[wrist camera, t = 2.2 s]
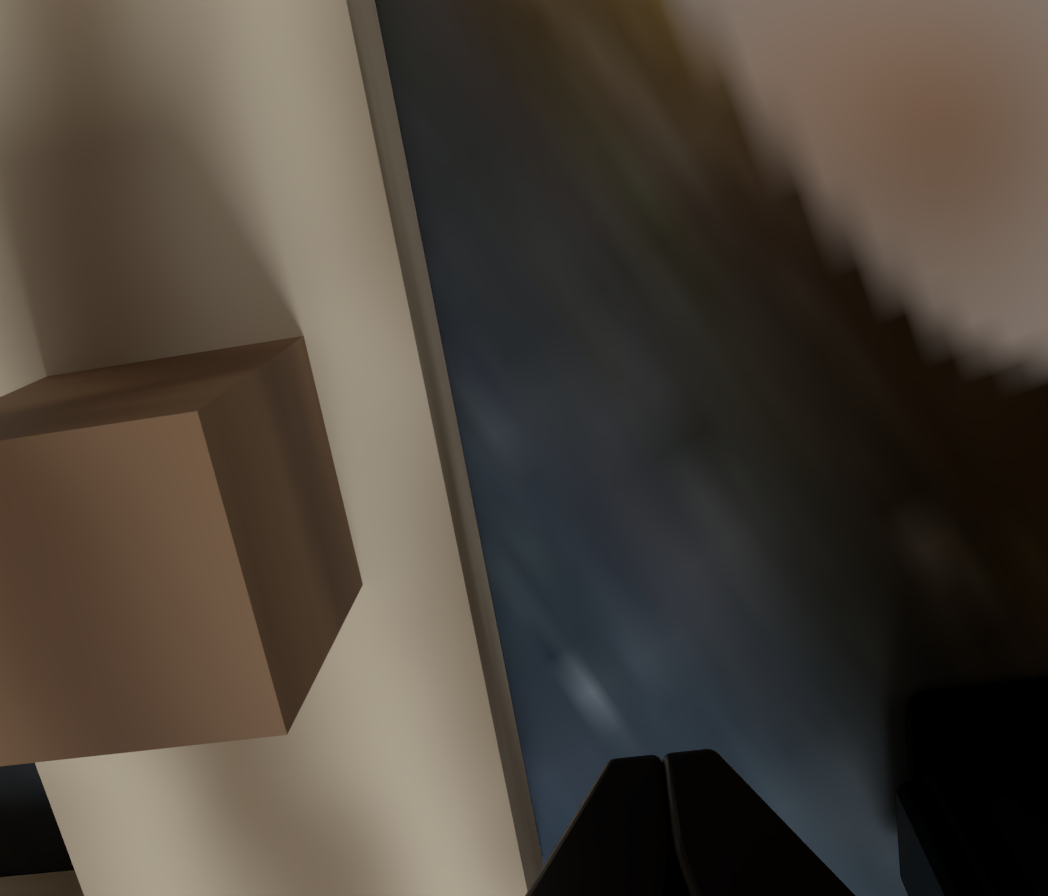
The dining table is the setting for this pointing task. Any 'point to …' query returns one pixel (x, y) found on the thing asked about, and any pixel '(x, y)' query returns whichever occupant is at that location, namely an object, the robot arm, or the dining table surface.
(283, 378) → the block
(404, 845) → the trap board
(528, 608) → the dining table surface
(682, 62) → the dining table surface
